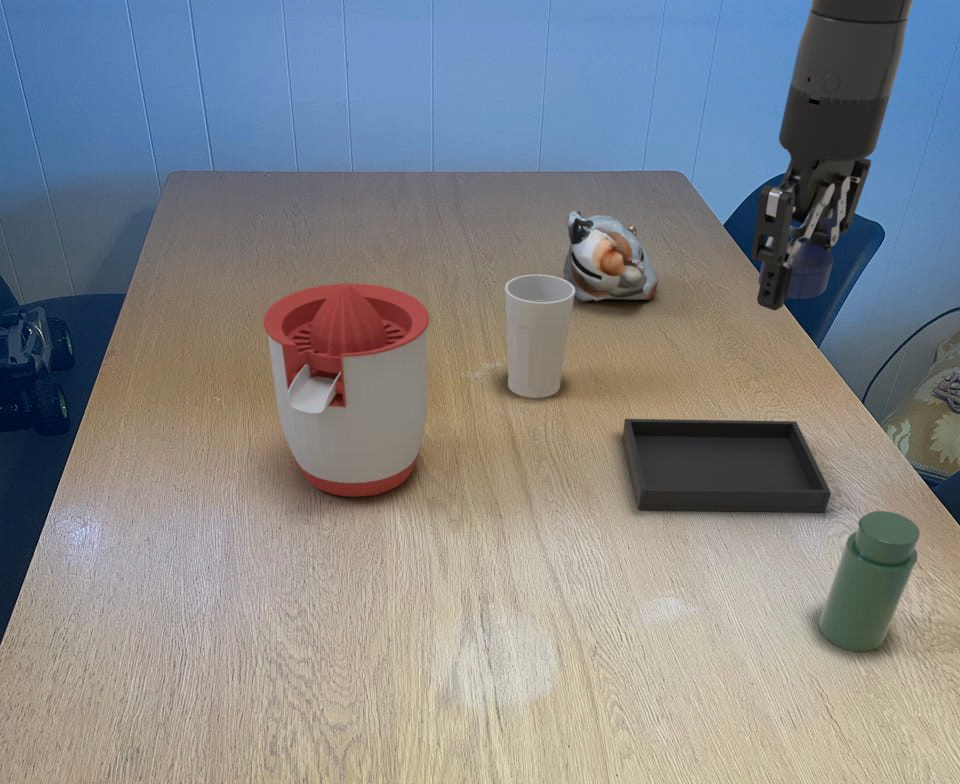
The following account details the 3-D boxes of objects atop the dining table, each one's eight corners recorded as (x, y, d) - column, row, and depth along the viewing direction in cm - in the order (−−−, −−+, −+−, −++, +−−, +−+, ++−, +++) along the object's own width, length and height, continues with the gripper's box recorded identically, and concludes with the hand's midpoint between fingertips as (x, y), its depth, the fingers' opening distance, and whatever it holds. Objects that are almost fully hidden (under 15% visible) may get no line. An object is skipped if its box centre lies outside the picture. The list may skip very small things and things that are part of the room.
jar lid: (833, 299, 83) (841, 271, 81) (765, 299, 83) (771, 271, 81) (818, 269, 87) (824, 241, 85) (752, 269, 87) (758, 241, 85)
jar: (872, 609, 87) (912, 507, 80) (892, 651, 83) (937, 548, 76) (811, 609, 87) (845, 506, 80) (828, 651, 83) (866, 547, 76)
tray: (791, 439, 109) (796, 421, 107) (825, 512, 99) (831, 492, 97) (622, 437, 109) (624, 418, 107) (638, 510, 98) (641, 490, 97)
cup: (532, 408, 113) (539, 309, 105) (487, 382, 118) (490, 286, 109) (580, 387, 117) (589, 290, 109) (534, 363, 121) (540, 268, 113)
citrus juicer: (247, 501, 98) (215, 311, 84) (325, 420, 110) (308, 242, 97) (388, 535, 94) (378, 342, 81) (453, 447, 106) (453, 267, 93)
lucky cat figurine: (675, 294, 138) (684, 223, 125) (612, 344, 136) (614, 277, 123) (605, 234, 143) (606, 160, 129) (543, 282, 141) (538, 211, 128)
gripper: (843, 59, 80) (793, 262, 91) (748, 88, 72) (706, 306, 83) (929, 77, 76) (866, 286, 87) (839, 109, 68) (782, 334, 80)
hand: (788, 295), depth 85 cm, fingers closed on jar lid, 6 cm apart
